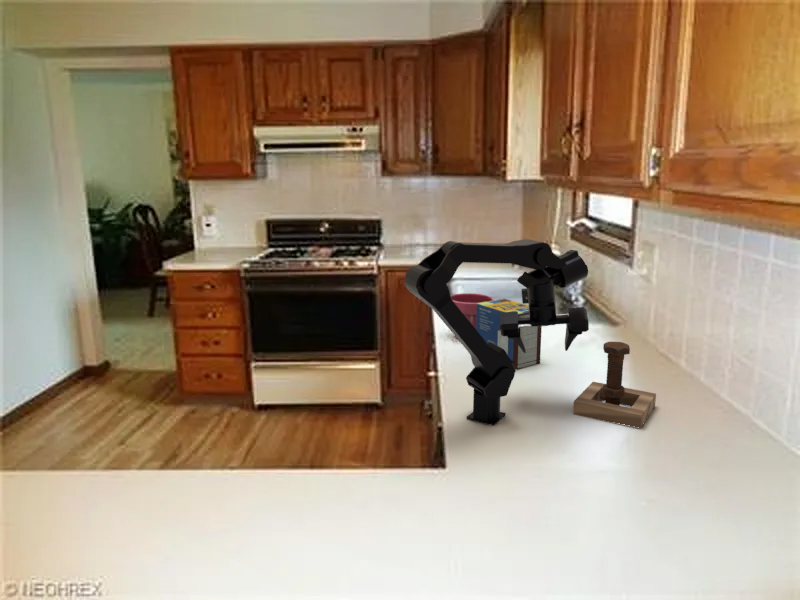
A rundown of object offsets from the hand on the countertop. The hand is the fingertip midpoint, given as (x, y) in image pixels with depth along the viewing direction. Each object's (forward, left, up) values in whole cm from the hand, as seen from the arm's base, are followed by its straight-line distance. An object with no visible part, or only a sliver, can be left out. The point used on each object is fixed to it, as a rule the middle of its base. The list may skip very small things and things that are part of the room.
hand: (545, 350), depth 138 cm
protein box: (+21, +18, -12) cm, 30 cm away
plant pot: (+34, +37, -12) cm, 52 cm away
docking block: (+2, -16, -11) cm, 20 cm away
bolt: (+1, -15, -12) cm, 19 cm away
